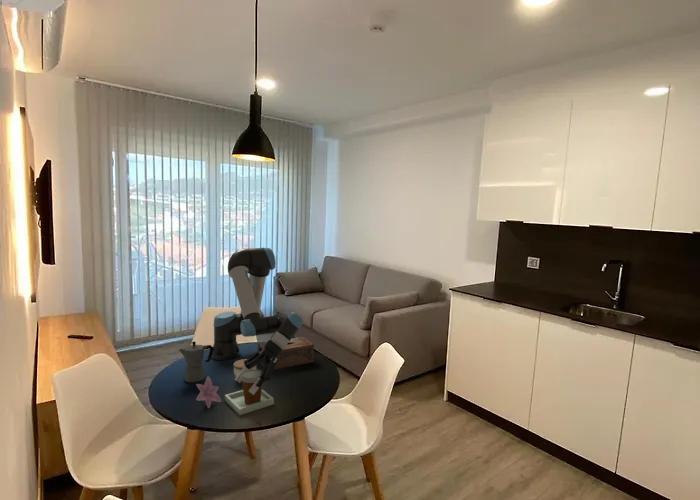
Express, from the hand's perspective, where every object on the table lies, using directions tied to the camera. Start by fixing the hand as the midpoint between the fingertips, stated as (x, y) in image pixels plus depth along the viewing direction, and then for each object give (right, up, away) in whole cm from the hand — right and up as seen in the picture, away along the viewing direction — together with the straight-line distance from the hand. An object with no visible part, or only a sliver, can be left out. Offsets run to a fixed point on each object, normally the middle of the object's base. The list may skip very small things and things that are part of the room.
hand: (243, 387), depth 162 cm
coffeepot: (-29, -5, +25) cm, 38 cm away
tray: (+2, -7, +2) cm, 8 cm away
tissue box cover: (+10, -3, +47) cm, 48 cm away
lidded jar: (-6, -5, +25) cm, 27 cm away
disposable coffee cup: (+3, -7, +1) cm, 7 cm away
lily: (-15, -7, +1) cm, 17 cm away
